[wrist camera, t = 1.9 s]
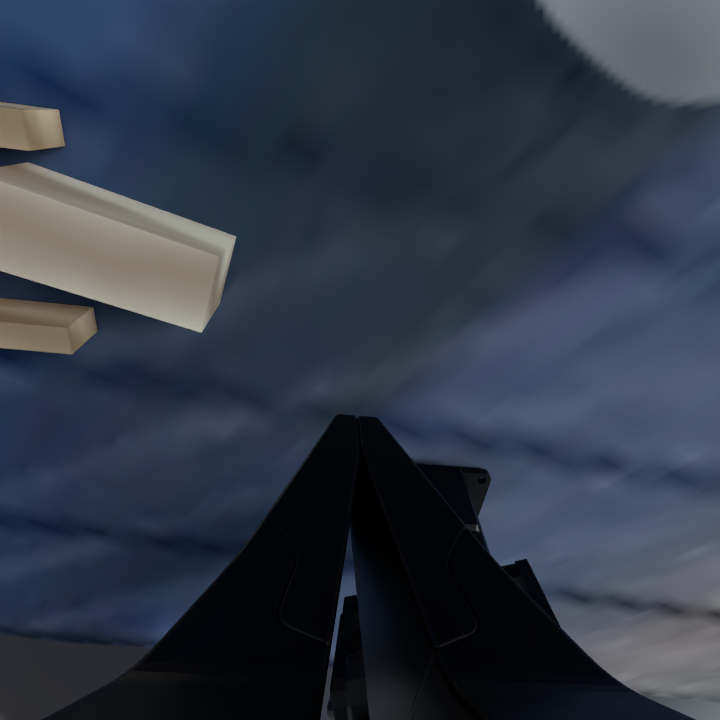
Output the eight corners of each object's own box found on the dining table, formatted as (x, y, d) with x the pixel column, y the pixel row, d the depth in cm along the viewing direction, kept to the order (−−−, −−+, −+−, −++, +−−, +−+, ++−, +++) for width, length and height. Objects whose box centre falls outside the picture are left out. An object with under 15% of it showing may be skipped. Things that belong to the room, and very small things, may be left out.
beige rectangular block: (220, 302, 20) (201, 332, 17) (29, 239, 19) (-27, 262, 16) (237, 235, 19) (219, 257, 16) (31, 161, 17) (-28, 171, 14)
